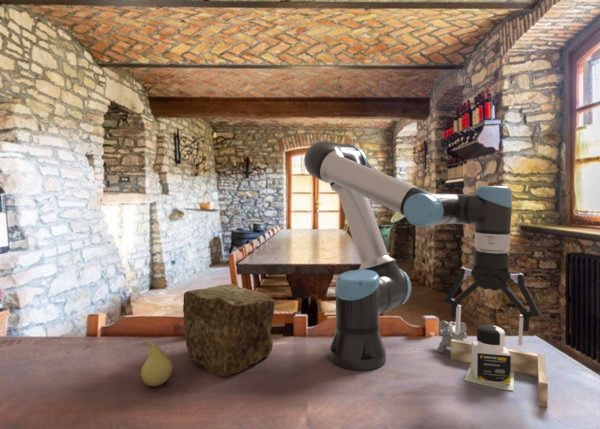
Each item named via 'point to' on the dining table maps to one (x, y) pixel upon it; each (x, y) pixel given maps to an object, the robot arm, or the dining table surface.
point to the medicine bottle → (491, 355)
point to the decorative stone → (227, 327)
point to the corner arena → (519, 363)
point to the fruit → (156, 367)
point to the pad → (472, 378)
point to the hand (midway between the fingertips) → (487, 337)
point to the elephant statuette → (450, 334)
